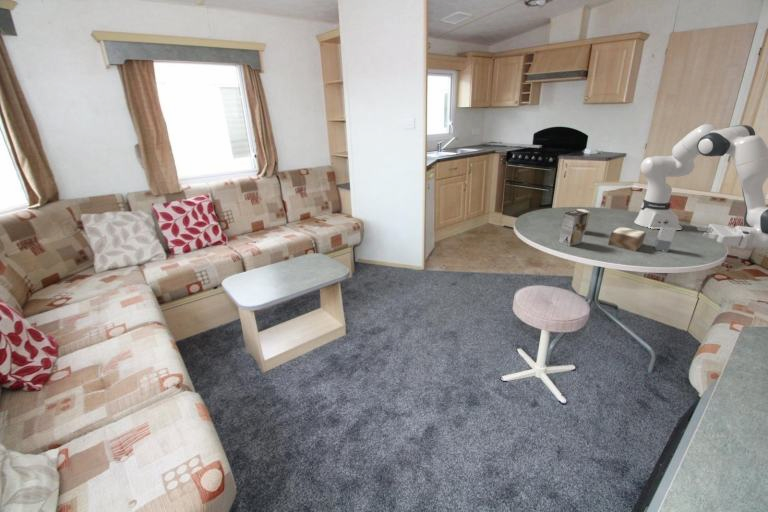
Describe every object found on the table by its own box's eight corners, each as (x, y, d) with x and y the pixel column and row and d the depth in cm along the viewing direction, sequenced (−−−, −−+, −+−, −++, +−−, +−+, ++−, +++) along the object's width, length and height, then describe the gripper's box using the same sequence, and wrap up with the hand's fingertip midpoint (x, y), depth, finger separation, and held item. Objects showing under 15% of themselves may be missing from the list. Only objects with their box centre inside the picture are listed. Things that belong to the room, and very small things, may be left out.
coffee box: (570, 239, 188) (576, 209, 182) (581, 243, 183) (588, 213, 177) (558, 242, 185) (564, 212, 178) (569, 246, 179) (576, 215, 173)
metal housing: (666, 248, 177) (673, 227, 173) (667, 252, 173) (675, 230, 168) (653, 246, 179) (660, 225, 175) (655, 250, 175) (662, 229, 171)
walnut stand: (642, 244, 181) (646, 231, 179) (635, 251, 174) (639, 237, 171) (615, 238, 189) (619, 226, 187) (608, 244, 182) (611, 231, 179)
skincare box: (571, 229, 202) (576, 208, 197) (578, 229, 202) (583, 208, 197) (577, 233, 196) (582, 212, 191) (585, 233, 196) (590, 212, 191)
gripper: (734, 222, 167) (697, 218, 173) (751, 236, 151) (709, 231, 157) (729, 235, 170) (692, 231, 176) (745, 250, 153) (704, 244, 159)
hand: (700, 231), depth 166 cm, fingers open, 8 cm apart
